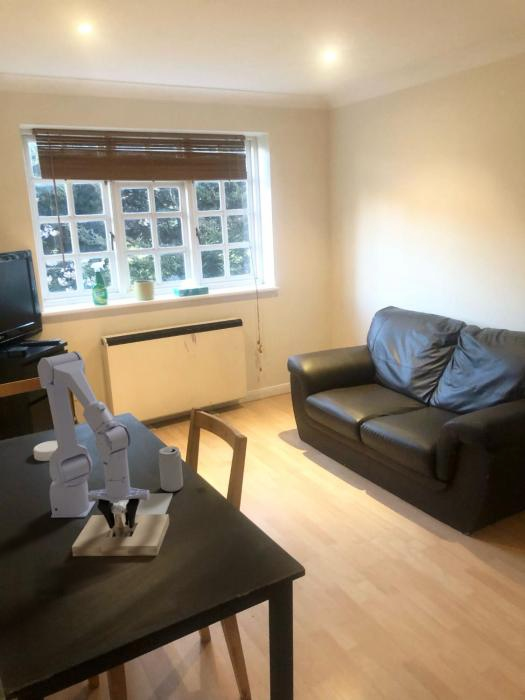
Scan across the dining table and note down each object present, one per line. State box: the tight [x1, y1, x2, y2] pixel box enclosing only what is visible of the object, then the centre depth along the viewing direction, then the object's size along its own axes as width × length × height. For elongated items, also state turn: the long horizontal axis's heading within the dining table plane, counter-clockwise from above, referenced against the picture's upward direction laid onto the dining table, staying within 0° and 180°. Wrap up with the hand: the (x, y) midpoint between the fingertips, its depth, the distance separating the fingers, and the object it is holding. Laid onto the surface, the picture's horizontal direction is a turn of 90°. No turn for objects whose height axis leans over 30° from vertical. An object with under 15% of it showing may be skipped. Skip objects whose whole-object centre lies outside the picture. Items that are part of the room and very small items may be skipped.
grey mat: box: [113, 492, 174, 515], centre depth 150 cm, size 16×12×1 cm
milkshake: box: [111, 502, 131, 537], centre depth 134 cm, size 4×5×10 cm
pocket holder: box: [71, 513, 170, 557], centre depth 135 cm, size 20×14×2 cm
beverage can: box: [157, 445, 184, 493], centre depth 158 cm, size 6×6×12 cm
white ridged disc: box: [32, 440, 58, 462], centre depth 186 cm, size 10×10×4 cm
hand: (122, 526), depth 134 cm, fingers closed on milkshake, 4 cm apart
